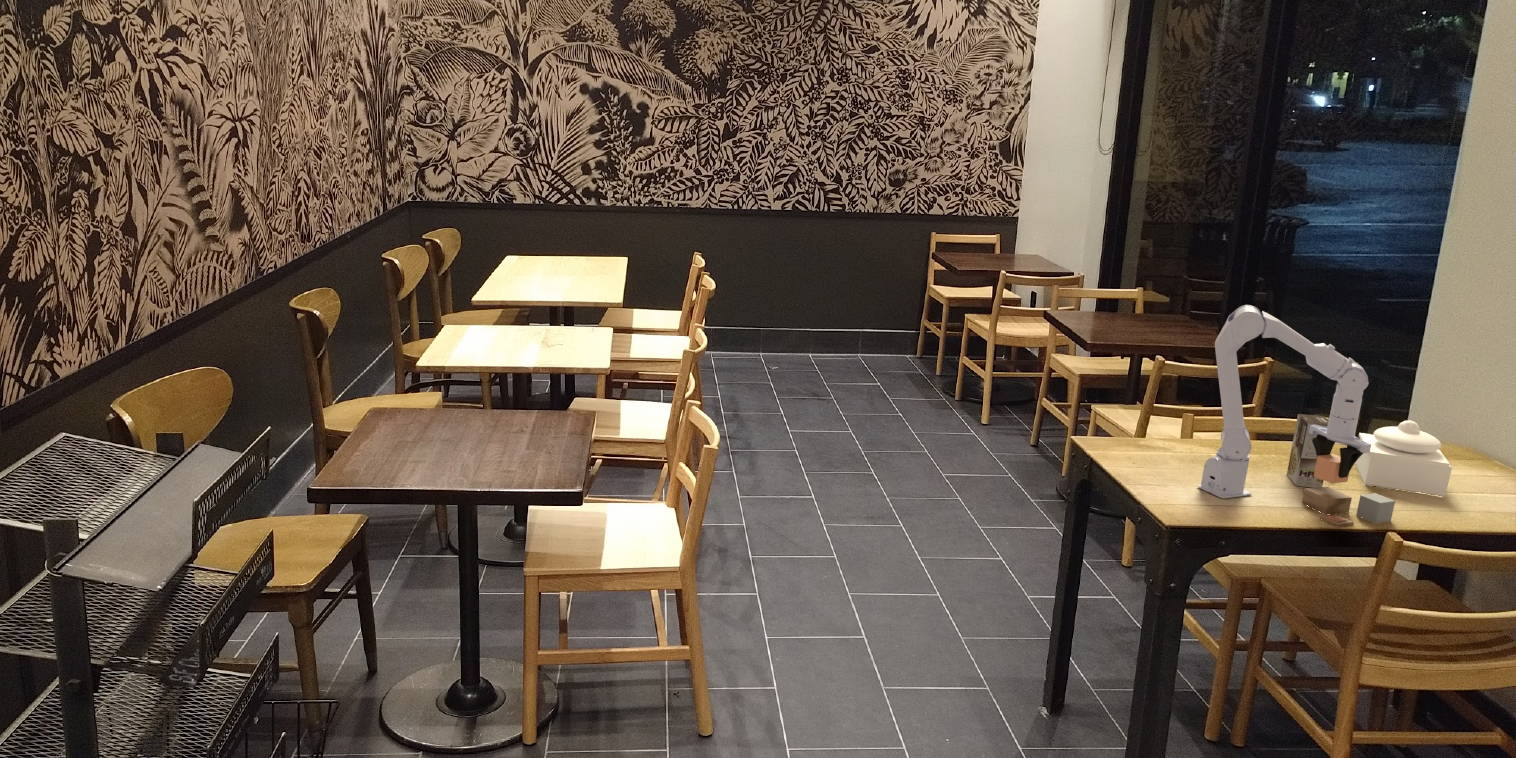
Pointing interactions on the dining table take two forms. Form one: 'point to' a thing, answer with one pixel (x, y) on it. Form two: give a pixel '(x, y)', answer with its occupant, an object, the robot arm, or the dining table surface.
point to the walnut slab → (1326, 500)
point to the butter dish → (1404, 460)
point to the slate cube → (1375, 508)
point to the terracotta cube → (1329, 469)
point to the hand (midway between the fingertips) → (1332, 472)
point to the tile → (1336, 520)
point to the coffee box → (1305, 452)
